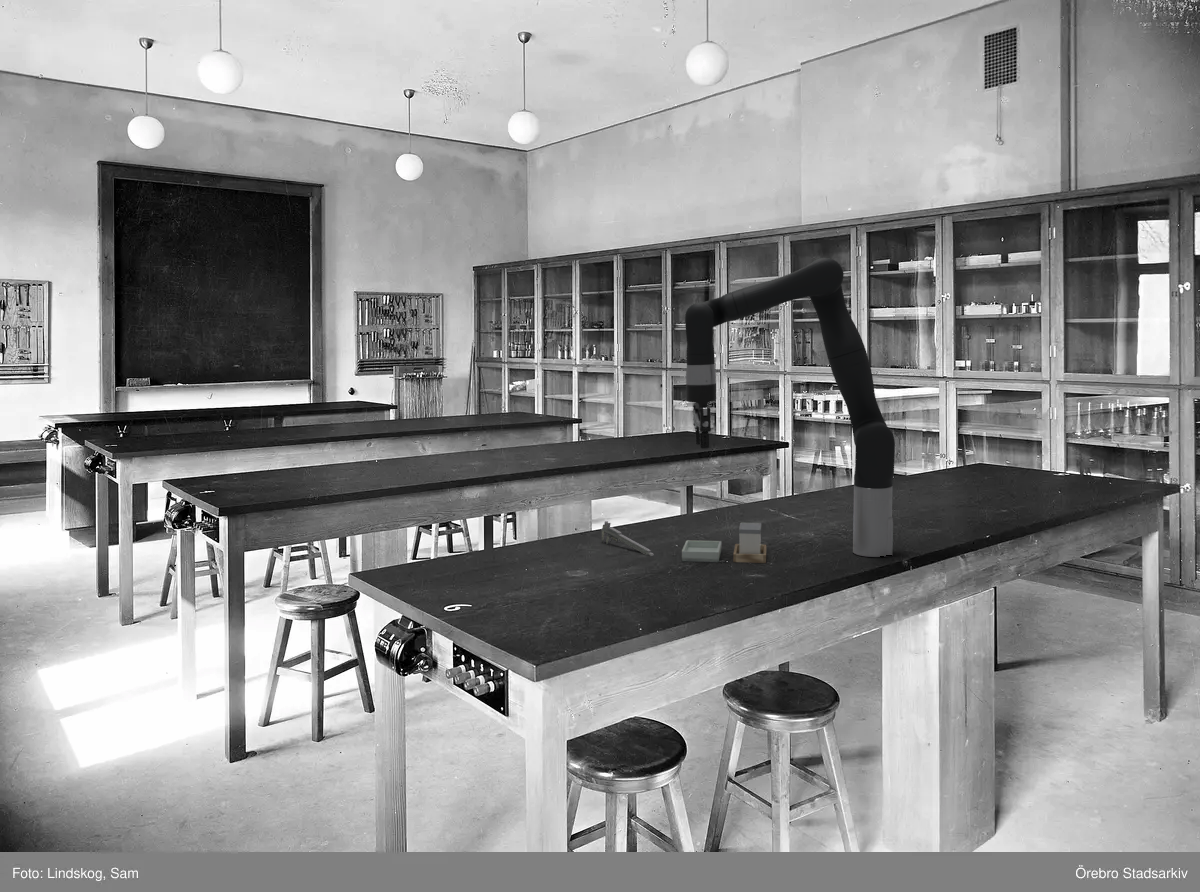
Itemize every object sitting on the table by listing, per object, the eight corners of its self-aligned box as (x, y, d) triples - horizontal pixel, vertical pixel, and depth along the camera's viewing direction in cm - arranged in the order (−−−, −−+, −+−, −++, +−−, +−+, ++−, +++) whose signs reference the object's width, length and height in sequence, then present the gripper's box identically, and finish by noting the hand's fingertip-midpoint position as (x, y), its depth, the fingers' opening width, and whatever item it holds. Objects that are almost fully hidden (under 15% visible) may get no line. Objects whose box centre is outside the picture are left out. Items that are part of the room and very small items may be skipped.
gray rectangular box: (761, 553, 232) (761, 522, 231) (760, 561, 224) (760, 529, 223) (740, 553, 233) (740, 522, 232) (738, 561, 225) (739, 529, 224)
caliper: (601, 543, 248) (601, 520, 247) (604, 542, 249) (604, 520, 248) (651, 557, 232) (651, 533, 231) (654, 556, 233) (654, 532, 232)
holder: (766, 552, 233) (766, 544, 233) (765, 563, 223) (765, 555, 222) (735, 551, 235) (735, 543, 234) (733, 562, 224) (733, 554, 224)
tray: (721, 550, 236) (721, 541, 236) (718, 562, 224) (718, 552, 224) (686, 549, 238) (686, 540, 237) (681, 561, 226) (681, 551, 226)
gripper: (720, 383, 225) (721, 449, 227) (711, 380, 239) (712, 442, 241) (689, 384, 224) (691, 450, 226) (683, 381, 239) (684, 443, 241)
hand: (702, 446), depth 234 cm, fingers open, 8 cm apart
